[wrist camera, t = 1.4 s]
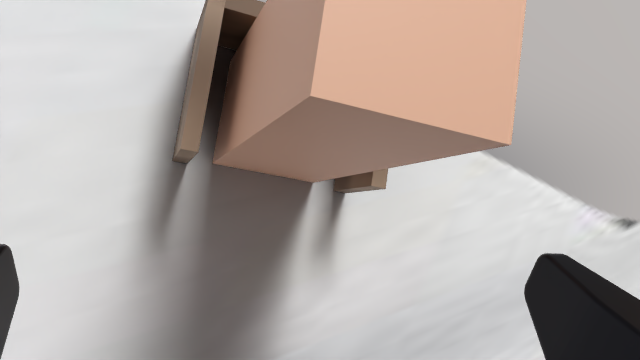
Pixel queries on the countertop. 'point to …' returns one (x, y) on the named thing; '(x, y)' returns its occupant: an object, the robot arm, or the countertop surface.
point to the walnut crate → (213, 30)
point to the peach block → (369, 85)
